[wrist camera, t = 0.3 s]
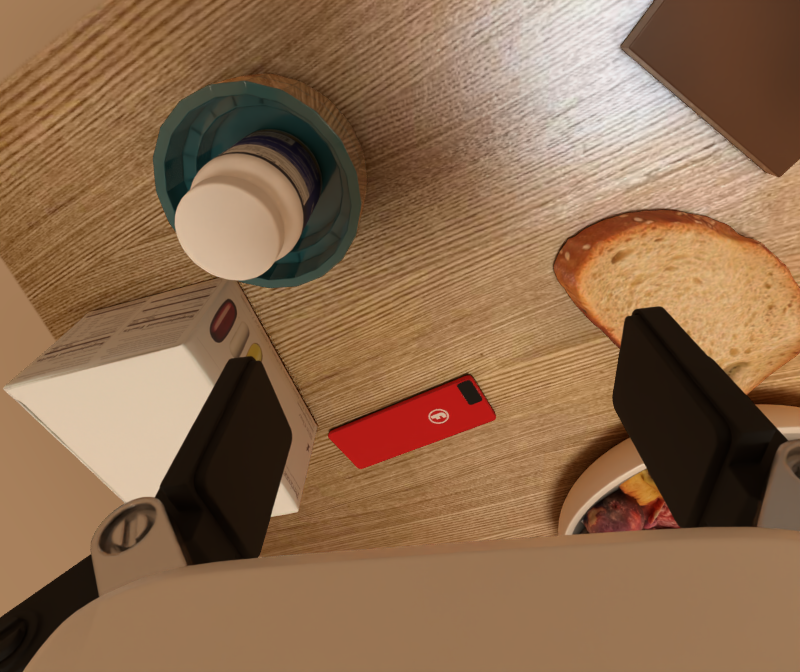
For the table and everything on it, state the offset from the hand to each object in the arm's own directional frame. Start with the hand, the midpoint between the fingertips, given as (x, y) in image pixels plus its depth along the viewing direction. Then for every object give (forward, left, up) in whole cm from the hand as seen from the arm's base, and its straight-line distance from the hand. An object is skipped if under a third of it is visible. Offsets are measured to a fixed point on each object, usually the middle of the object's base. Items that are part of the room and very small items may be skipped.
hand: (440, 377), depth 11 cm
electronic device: (+20, +11, -20) cm, 30 cm away
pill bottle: (+5, -8, -20) cm, 22 cm away
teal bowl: (+5, -8, -20) cm, 22 cm away
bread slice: (-1, +22, -20) cm, 30 cm away
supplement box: (+24, -6, -20) cm, 32 cm away
